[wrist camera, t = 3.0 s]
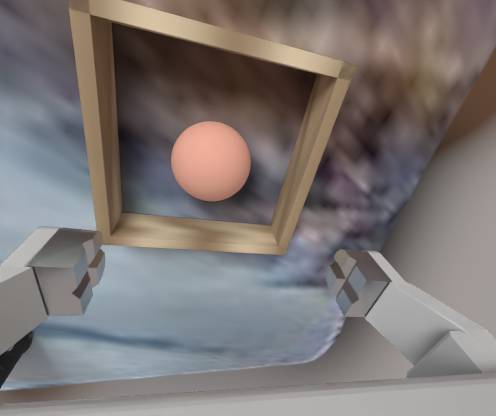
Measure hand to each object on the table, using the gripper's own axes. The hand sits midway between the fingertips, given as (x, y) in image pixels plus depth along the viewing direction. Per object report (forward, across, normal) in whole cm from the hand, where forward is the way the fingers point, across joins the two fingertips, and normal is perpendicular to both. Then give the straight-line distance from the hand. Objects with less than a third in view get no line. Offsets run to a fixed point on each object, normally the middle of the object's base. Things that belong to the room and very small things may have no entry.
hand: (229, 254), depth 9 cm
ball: (+9, 0, 0) cm, 9 cm away
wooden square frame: (+11, +1, 0) cm, 11 cm away
